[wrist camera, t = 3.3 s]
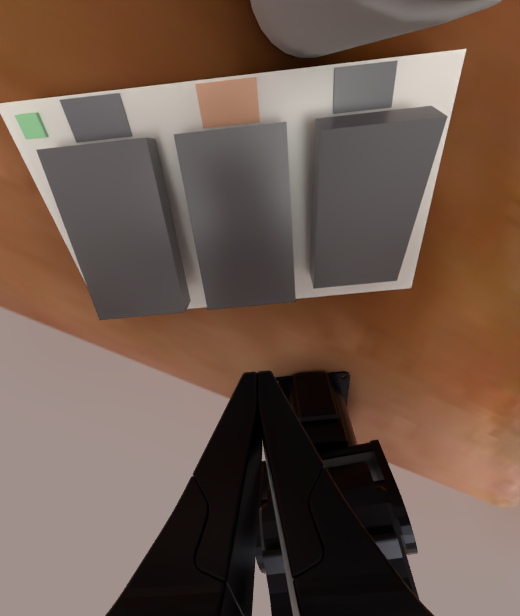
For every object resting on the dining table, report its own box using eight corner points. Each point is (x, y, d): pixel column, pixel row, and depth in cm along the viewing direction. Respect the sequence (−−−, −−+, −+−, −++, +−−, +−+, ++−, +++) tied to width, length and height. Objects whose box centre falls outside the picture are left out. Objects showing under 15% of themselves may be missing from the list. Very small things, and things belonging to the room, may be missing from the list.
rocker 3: (388, 265, 16) (396, 280, 15) (309, 272, 16) (313, 288, 15) (431, 105, 11) (447, 116, 10) (315, 118, 11) (321, 130, 10)
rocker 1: (190, 300, 15) (185, 311, 14) (110, 308, 15) (99, 320, 14) (155, 138, 12) (145, 137, 11) (55, 149, 12) (36, 149, 11)
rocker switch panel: (390, 261, 19) (412, 290, 17) (120, 287, 20) (101, 319, 17) (427, 53, 13) (469, 48, 11) (39, 99, 14) (-8, 104, 11)
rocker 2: (292, 291, 15) (295, 301, 14) (210, 298, 15) (207, 309, 14) (283, 124, 12) (286, 121, 11) (180, 135, 12) (173, 134, 11)
